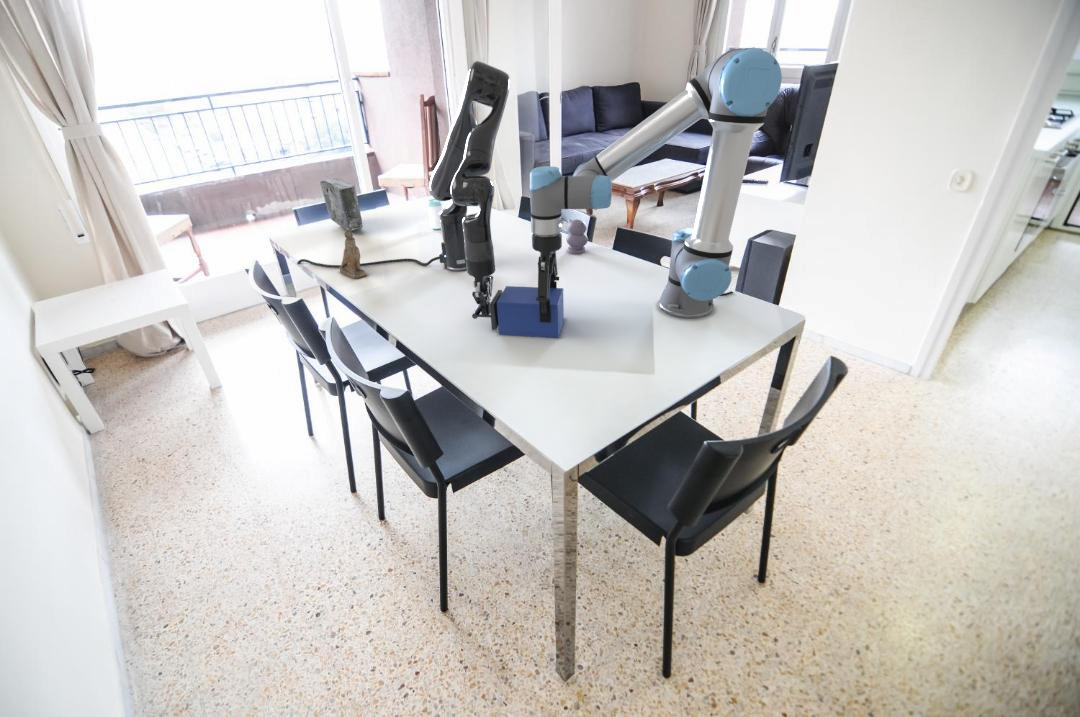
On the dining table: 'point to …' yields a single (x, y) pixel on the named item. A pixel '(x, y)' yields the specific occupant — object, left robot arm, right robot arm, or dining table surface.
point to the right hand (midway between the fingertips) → (548, 312)
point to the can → (435, 213)
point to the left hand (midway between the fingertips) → (486, 314)
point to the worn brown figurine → (351, 258)
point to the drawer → (492, 311)
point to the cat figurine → (576, 236)
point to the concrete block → (342, 203)
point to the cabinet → (529, 312)
